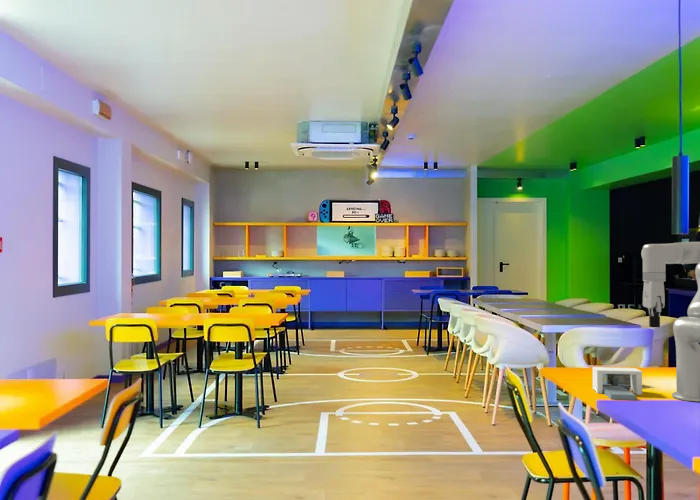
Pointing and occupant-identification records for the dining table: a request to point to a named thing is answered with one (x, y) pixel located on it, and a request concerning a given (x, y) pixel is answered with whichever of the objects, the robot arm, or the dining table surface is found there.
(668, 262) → the robot arm
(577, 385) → the dining table surface
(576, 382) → the dining table surface
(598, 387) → the shelf
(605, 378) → the beverage carton
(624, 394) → the panel
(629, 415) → the dining table surface
